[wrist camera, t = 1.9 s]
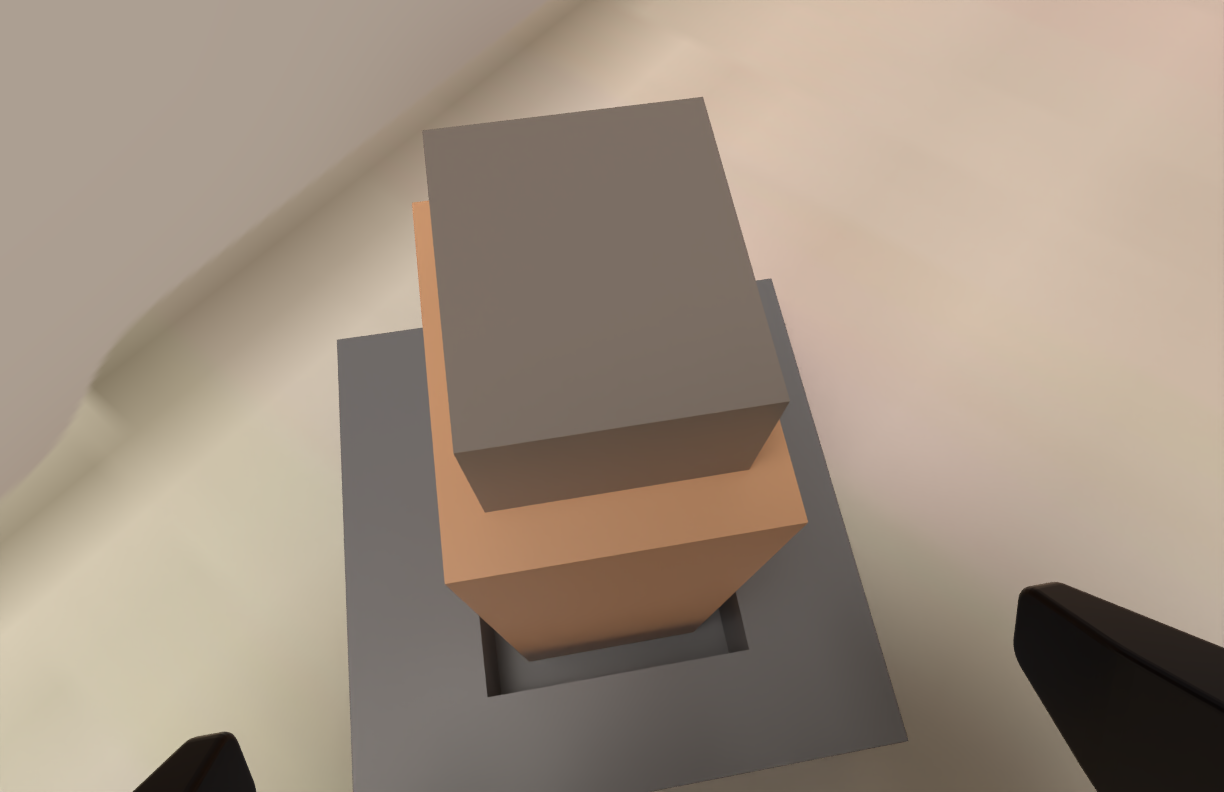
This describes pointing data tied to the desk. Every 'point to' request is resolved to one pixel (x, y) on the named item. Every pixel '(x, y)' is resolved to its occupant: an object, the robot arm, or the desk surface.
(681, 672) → the socket block
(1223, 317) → the desk surface
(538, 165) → the plug
